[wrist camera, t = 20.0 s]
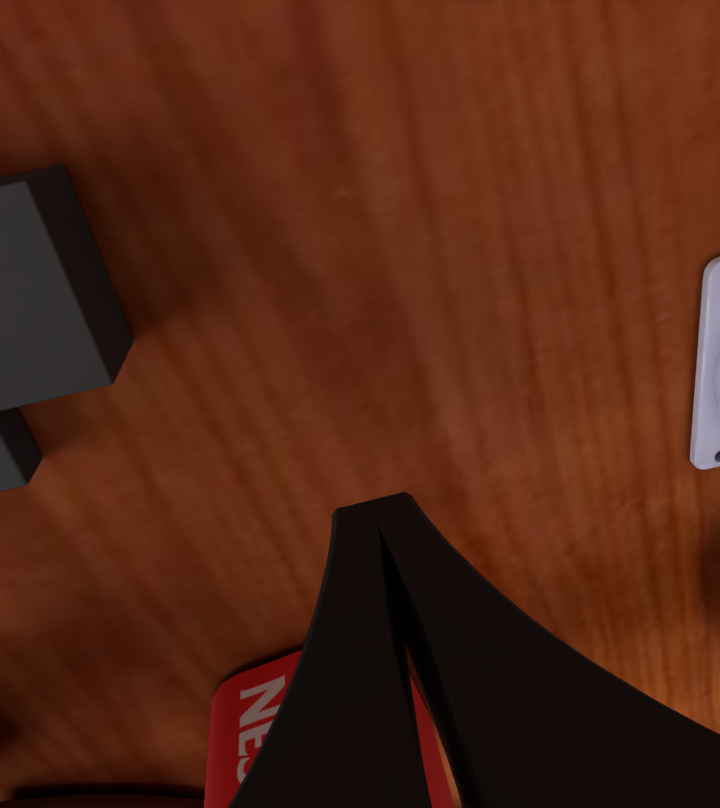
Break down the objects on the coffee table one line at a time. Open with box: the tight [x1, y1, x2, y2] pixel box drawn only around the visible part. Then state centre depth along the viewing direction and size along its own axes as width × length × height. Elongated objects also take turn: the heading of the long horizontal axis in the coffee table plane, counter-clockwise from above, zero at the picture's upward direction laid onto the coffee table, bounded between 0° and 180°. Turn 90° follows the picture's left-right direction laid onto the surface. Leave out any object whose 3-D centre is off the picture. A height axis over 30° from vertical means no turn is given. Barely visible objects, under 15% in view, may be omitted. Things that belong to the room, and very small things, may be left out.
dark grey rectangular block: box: [0, 164, 133, 411], centre depth 16 cm, size 4×5×3 cm
